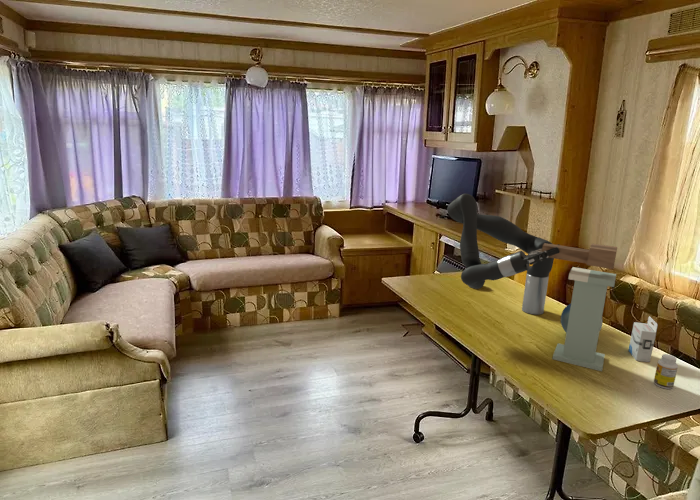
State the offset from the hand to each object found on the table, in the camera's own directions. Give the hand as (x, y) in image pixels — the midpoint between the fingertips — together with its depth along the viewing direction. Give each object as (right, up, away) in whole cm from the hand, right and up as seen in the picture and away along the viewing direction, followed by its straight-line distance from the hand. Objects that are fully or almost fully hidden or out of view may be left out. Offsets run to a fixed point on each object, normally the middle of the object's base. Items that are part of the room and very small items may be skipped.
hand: (559, 248), depth 173 cm
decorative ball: (+17, -36, +22) cm, 45 cm away
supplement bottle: (+29, -45, -12) cm, 55 cm away
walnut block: (+5, -4, -2) cm, 7 cm away
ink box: (+33, -40, +8) cm, 52 cm away
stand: (+9, -40, +4) cm, 41 cm away
